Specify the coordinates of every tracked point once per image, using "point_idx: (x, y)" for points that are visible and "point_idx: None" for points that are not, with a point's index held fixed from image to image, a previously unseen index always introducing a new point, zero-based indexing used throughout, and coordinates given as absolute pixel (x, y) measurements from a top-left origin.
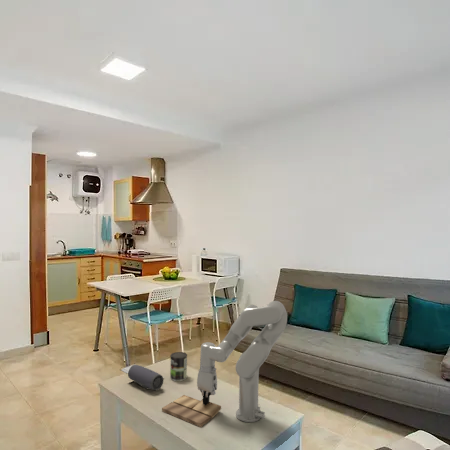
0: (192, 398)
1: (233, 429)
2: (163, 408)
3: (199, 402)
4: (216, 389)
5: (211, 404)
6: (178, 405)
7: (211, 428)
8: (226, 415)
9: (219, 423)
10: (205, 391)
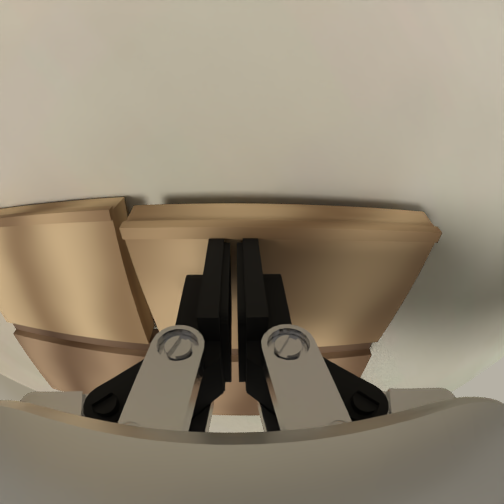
0: (21, 224)
1: (495, 313)
2: (60, 390)
3: (142, 277)
4: (498, 419)
5: (314, 250)
6: (65, 350)
7: (397, 370)
8: (458, 220)
9: (430, 322)
10: (175, 387)
